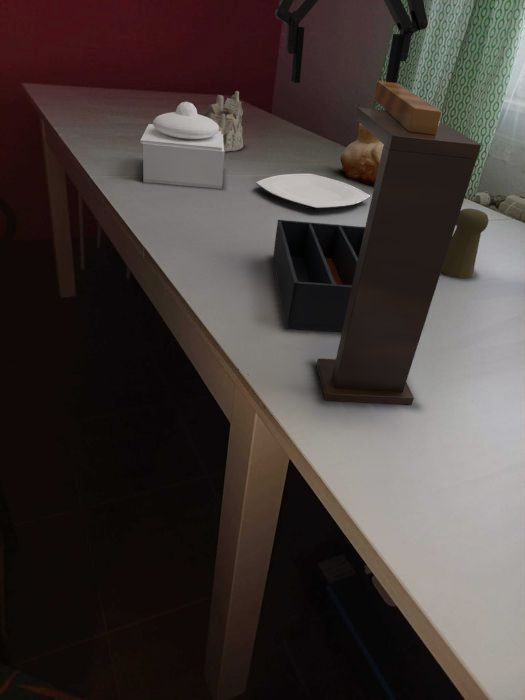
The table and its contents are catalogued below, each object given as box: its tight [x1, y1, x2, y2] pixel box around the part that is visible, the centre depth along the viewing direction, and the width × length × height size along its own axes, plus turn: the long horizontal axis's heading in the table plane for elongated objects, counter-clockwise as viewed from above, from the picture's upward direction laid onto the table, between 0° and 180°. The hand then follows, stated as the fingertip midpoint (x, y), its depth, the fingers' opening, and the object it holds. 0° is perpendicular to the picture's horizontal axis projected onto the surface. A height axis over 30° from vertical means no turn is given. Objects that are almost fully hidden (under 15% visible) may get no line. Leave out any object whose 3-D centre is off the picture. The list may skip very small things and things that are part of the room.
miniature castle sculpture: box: [202, 90, 244, 153], centre depth 153 cm, size 16×16×15 cm
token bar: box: [373, 80, 443, 135], centre depth 56 cm, size 20×2×2 cm, turn 179°
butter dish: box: [140, 101, 226, 190], centre depth 123 cm, size 18×18×16 cm
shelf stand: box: [316, 106, 482, 405], centre depth 59 cm, size 15×10×28 cm, turn 3°
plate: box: [255, 173, 371, 211], centre depth 123 cm, size 23×23×2 cm
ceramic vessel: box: [340, 123, 384, 187], centre depth 138 cm, size 14×26×15 cm, turn 48°
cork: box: [441, 208, 489, 279], centre depth 93 cm, size 6×6×11 cm
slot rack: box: [272, 219, 365, 333], centre depth 81 cm, size 23×16×7 cm, turn 3°
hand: (343, 85), depth 75 cm, fingers open, 13 cm apart
